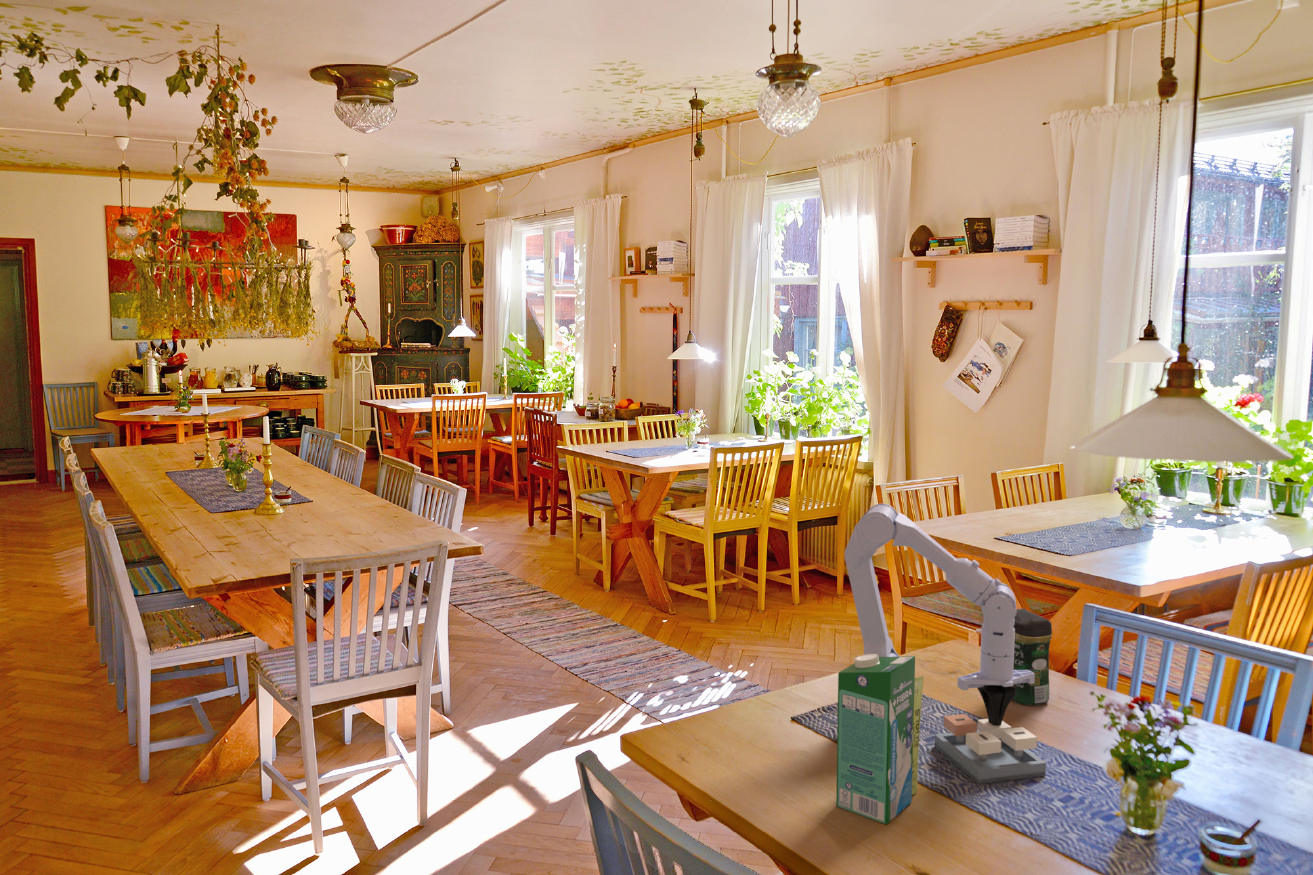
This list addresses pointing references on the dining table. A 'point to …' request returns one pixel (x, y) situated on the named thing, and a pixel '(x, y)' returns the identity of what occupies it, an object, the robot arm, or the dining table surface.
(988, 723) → the key
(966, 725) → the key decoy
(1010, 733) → the key
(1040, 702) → the coffee jar
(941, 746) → the keypad base
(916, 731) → the tube
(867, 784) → the milk carton
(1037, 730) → the dining table surface
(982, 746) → the key
